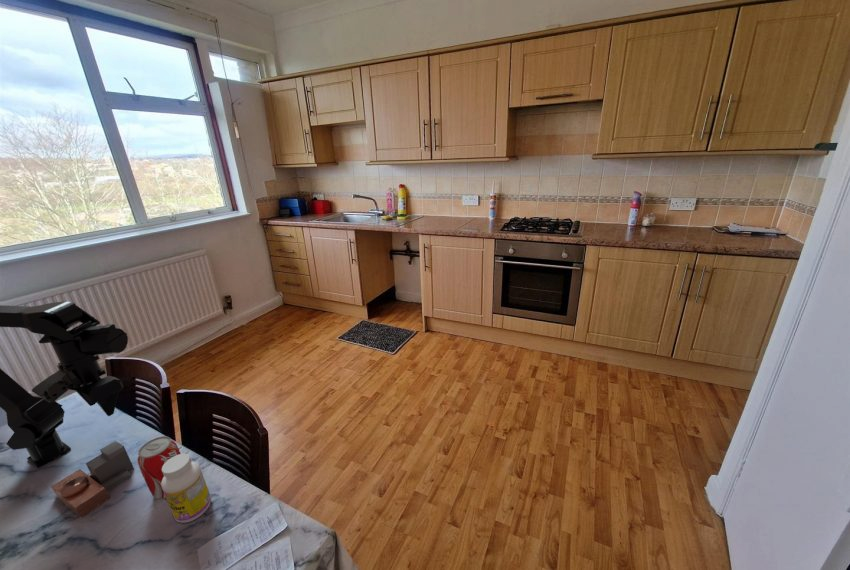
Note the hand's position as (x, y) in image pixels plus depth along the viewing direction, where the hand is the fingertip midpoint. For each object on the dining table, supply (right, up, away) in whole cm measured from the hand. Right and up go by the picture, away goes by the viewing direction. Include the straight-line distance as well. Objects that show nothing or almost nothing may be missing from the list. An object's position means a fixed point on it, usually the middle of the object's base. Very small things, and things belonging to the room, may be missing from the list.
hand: (101, 409), depth 86 cm
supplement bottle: (+32, -16, -13) cm, 38 cm away
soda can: (+23, -15, -8) cm, 29 cm away
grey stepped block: (+7, -14, -4) cm, 16 cm away
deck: (+6, -15, -7) cm, 18 cm away
